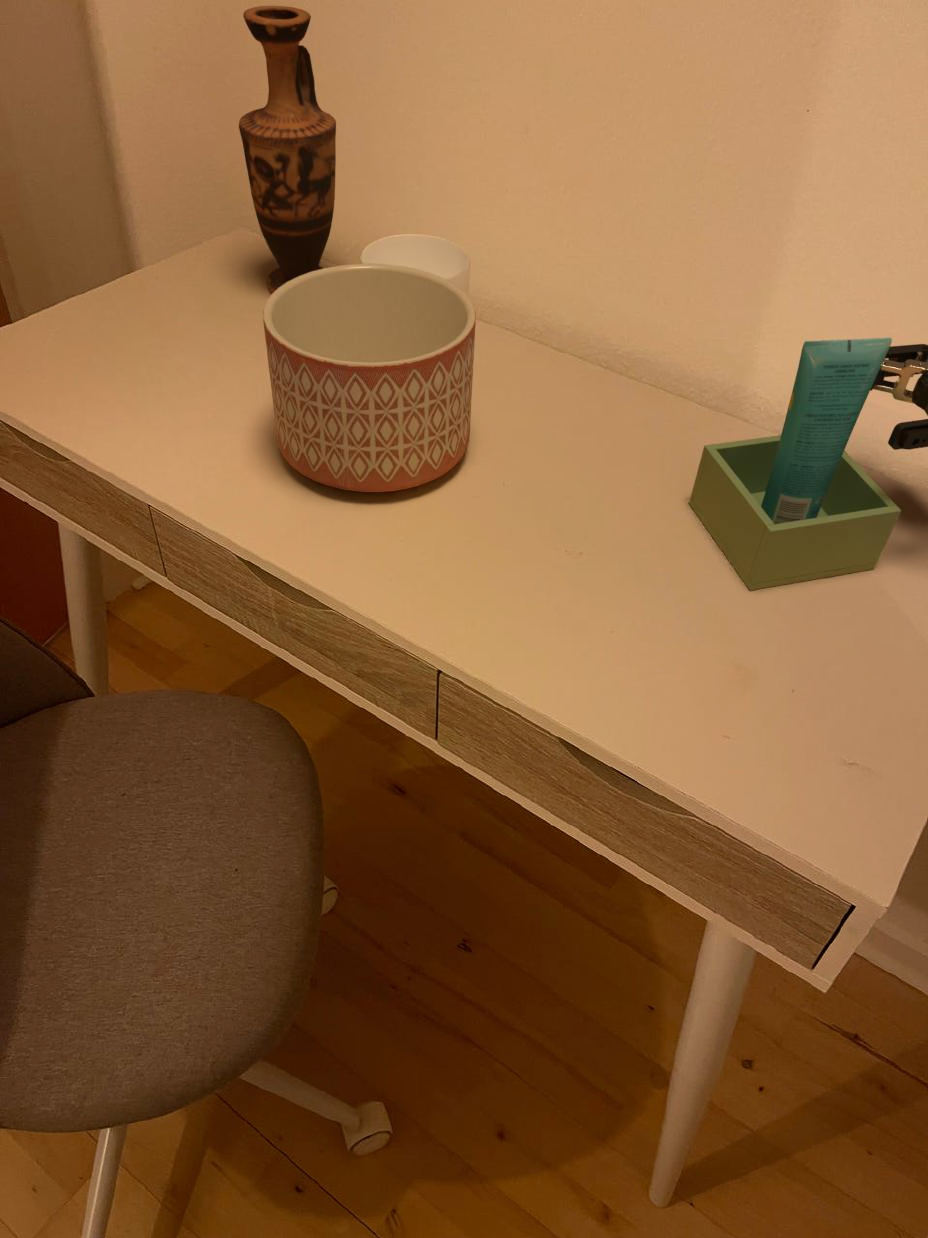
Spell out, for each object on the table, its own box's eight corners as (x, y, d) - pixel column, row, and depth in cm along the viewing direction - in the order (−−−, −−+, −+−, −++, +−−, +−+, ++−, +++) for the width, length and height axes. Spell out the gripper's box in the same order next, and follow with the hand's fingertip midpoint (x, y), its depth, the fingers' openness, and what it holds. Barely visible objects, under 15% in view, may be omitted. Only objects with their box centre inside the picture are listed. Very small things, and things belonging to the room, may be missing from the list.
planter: (241, 469, 92) (219, 329, 82) (340, 378, 105) (332, 247, 94) (415, 527, 87) (416, 386, 76) (498, 424, 99) (508, 291, 89)
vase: (308, 315, 114) (286, 32, 93) (240, 291, 118) (203, 13, 97) (361, 282, 121) (351, 11, 100) (294, 260, 125) (271, -6, 103)
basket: (874, 569, 85) (901, 510, 81) (749, 590, 83) (770, 531, 78) (803, 486, 94) (824, 428, 89) (688, 503, 91) (704, 444, 86)
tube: (804, 507, 90) (875, 321, 77) (830, 539, 87) (908, 351, 73) (734, 517, 89) (793, 329, 75) (757, 550, 85) (823, 360, 72)
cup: (470, 338, 112) (475, 238, 104) (459, 390, 104) (464, 286, 95) (373, 329, 113) (370, 229, 104) (354, 380, 104) (350, 276, 96)
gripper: (990, 309, 86) (834, 327, 82) (1103, 392, 76) (932, 417, 73) (956, 382, 91) (808, 401, 87) (1058, 468, 81) (896, 494, 78)
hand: (864, 408), depth 80 cm, fingers open, 8 cm apart
